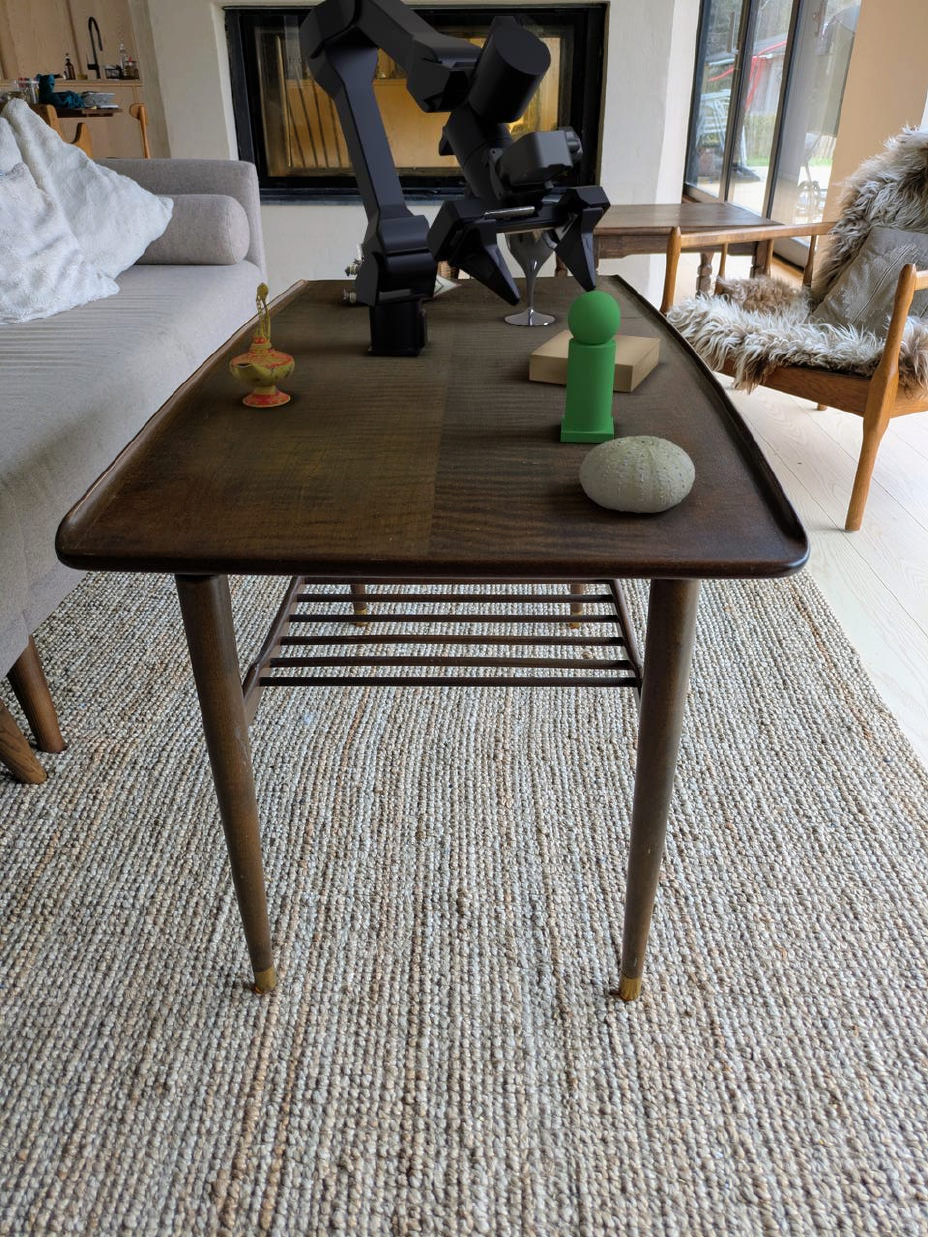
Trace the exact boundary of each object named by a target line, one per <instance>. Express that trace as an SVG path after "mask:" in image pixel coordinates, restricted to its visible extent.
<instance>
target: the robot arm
mask: <svg viewBox="0 0 928 1237" xmlns="http://www.w3.org/2000/svg"><path fill="white" fill-rule="evenodd" d="M299 46H300V50H301V53H302V55H303V56H304V58H305V61H306V63H307V65H308V68H309V71H310V73H311V76H312V79H313V80H314V82H315V83H316V84H317V85H318V86H319V87H320V88H321V89H322V90H323V91H324V92H325V93H326V94H327V96H329V97H330V98H331V100H332V101H333V103H334V107H335V110H336V113H337V117H338V120H339V125H340V127H341V131H342V135H343V138H344V142H345V146H346V149H347V152H348V155H349V156H348V157H349V159H350V163H351V166H352V169H353V173H354V176H355V180H356V184H357V187H358V191H359V194H360V198H361V202H362V205H363V209H364V212H365V216H366V220H367V225H366V229H365V233H364V238H363V241H362V245H361V249H362V250H361V251H362V254H363V260H364V261H363V260H362V261H363V263H362V265H361V267H360V270H359V272H358V274H357V275H355V276H356V277H355V279H354V281H353V282H354V285H353V288H354V287H355V288H354V291H355V292H354V293H356V296H357V300H359V301H361V302H360V303H364V304H366V305H368V316H369V317H368V318H369V331H370V332H369V334H370V346H369V348H368V350H367V353H368V355H379V356H380V355H381V356H382V355H385V356H387V355H388V356H419V355H420V354H421V352H422V351H423V349H424V348H425V347H426V345H427V343H428V341H429V340H428V310H426V309H425V308H423V301H422V299H423V298H431V299H433V296H434V290H435V284H436V278H437V273H438V272H439V265H440V263H443V262H444V263H445V262H446V264H447V265H448V267H449V268H457V269H459V270H460V271H461V272H463V273H465V274H467V275H468V276H470V277H471V278H473V279H474V280H476V281H477V282H479V283H480V284H482V285H483V286H484V287H486V288H488V289H489V290H490V291H491V292H493V293H494V294H495V295H497V296H498V297H500V298H501V299H502V300H504V301H505V302H506V303H507V304H509V305H510V306H512V307H515V306H517V305H519V303H520V301H521V296H520V293H519V290H518V287H517V284H516V282H515V280H514V277H513V275H512V273H511V271H510V269H509V267H508V264H507V262H506V260H505V258H504V255H503V254H502V251H501V249H500V248H499V244H498V235H499V234H503V235H504V234H505V235H507V234H515V233H524V232H532V231H540V230H547V234H548V236H549V238H550V240H551V241H552V242H554V243H555V244H557V246H556V247H555V249H554V252H555V254H556V256H557V257H558V258H559V260H560V261H561V263H563V264H564V266H565V267H566V269H567V271H569V272H570V274H571V275H572V277H573V278H574V279H575V281H576V282H577V283H578V285H579V286H580V287H581V288H582V289H583V290H584V291H585V293H587V292H590V291H596V288H597V280H596V268H595V257H594V256H595V255H594V230H595V228H596V227H597V226H598V224H599V223H600V221H601V220H602V219H603V218H604V216H605V214H606V213H607V212H608V211H609V209H610V208H611V207H612V204H611V202H610V199H609V198H608V195H607V193H606V191H605V189H604V188H603V186H601V185H583V186H572V187H566V189H565V190H564V192H563V193H562V195H561V196H560V198H559V200H558V201H557V202H558V203H557V204H556V205H555V206H546V207H543V201H544V200H543V199H544V198H545V197H549V196H550V194H551V193H552V192H553V190H554V188H555V187H554V185H553V183H552V180H554V179H555V178H557V177H559V176H560V175H562V174H563V173H564V172H569V171H572V170H573V168H574V165H575V164H577V163H578V162H580V161H581V160H582V158H583V155H584V154H583V153H584V152H583V147H582V143H581V139H580V137H579V135H578V134H577V132H576V131H575V130H574V128H573V127H572V126H558V127H556V128H555V130H541V131H539V130H537V131H531V132H528V133H525V134H523V135H522V136H520V137H519V138H518V139H517V140H514V138H513V136H512V134H511V132H510V130H509V128H508V126H507V124H513V123H517V122H518V121H520V120H521V119H522V118H523V116H524V115H525V113H526V111H527V109H528V107H529V106H530V103H531V102H532V100H533V99H534V96H535V94H536V93H537V91H538V90H539V88H540V86H541V83H542V82H543V80H544V78H545V76H546V74H547V72H548V70H549V69H550V67H551V64H552V56H551V52H550V49H549V47H548V45H547V44H546V42H545V41H541V39H540V38H539V37H538V36H537V35H536V34H535V33H533V31H531V30H529V29H527V28H526V27H523V26H521V25H518V22H517V21H516V18H515V16H514V15H513V16H512V15H507V16H506V15H494V17H493V20H492V21H491V24H490V26H489V29H488V32H487V36H486V38H485V41H484V43H483V45H482V47H481V46H479V45H477V44H475V43H473V42H470V41H468V40H465V39H463V38H458V37H455V36H450V35H445V34H442V33H441V32H439V31H437V30H435V29H434V27H432V26H431V25H430V24H429V23H428V22H426V21H425V20H424V19H423V18H422V17H421V16H419V15H418V14H417V13H416V12H415V11H414V10H413V9H411V7H409V6H408V5H407V4H406V3H404V2H403V0H324V1H322V2H319V3H318V4H316V5H315V6H313V7H312V9H311V10H310V12H308V14H307V16H306V18H304V20H303V22H302V23H301V26H300V28H299ZM379 50H382V52H384V54H386V56H388V57H389V58H390V59H391V61H393V62H394V63H395V64H396V65H397V66H398V67H399V68H401V69H402V70H403V72H404V74H405V75H406V80H405V88H406V90H407V91H408V93H409V95H410V96H411V97H412V99H413V100H414V102H415V103H416V105H417V106H418V108H419V109H420V110H421V111H422V112H424V113H426V114H439V113H443V114H444V113H450V114H449V117H448V119H447V121H446V123H445V125H443V126H442V128H441V136H440V137H441V138H440V140H439V142H438V148H437V150H438V156H440V157H448V156H455V159H456V161H457V163H458V165H459V167H460V170H461V171H462V174H463V175H464V179H465V180H466V182H467V183H466V184H465V186H464V188H463V190H462V194H463V195H464V197H456V198H446V199H444V200H443V202H442V204H441V206H440V208H439V210H438V211H437V214H436V216H435V218H434V220H433V222H432V224H431V226H430V222H429V220H428V219H427V217H426V215H425V214H417V215H416V214H414V213H413V212H412V211H411V210H410V209H409V207H408V206H407V203H406V200H405V195H404V193H403V189H402V185H401V182H400V177H399V174H398V171H397V168H396V164H395V161H394V157H393V153H392V149H391V146H390V143H389V139H388V136H387V132H386V129H385V125H384V121H383V117H382V114H381V110H380V107H379V104H378V100H377V95H376V93H375V88H374V80H375V76H376V72H377V68H378V65H379V61H380V57H379ZM505 235H504V236H505Z"/></svg>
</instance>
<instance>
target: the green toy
mask: <svg viewBox="0 0 928 1237" xmlns="http://www.w3.org/2000/svg"><path fill="white" fill-rule="evenodd" d="M620 324H621V310H620V307H619V305H618V303H617V301H616V300H615V299H614V298H613V296H611V295H610V294H608V293H606V292H603V291H601V290H594V291H590V292H585V293H581V295H579V296H578V297H577V298H576V299H575V300H574V301H573V302H572V304H571V305H570V308H569V310H568V313H567V326H568V330H570V332H571V334H572V335H573V338H571V339H570V340H569V347H568V367H567V385H566V390H565V406H564V407H565V409H564V410H565V411H564V414H561V426H560V428H561V429H560V442H561V443H585V444H586V443H587V444H588V443H589V444H590V443H591V444H595V443H596V444H602V443H605V442H608V441H609V440H610V441H611V440H613V439H614V436H615V433H614V432H615V431H614V430H615V429H614V417H613V416H612V406H613V405H612V404H613V392H614V390H613V381H614V368H615V355H616V340H615V339H613V338H612V337H613V336H614V335H617V332H618V330H619V329H620V328H619V327H620Z"/></svg>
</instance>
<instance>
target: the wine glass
mask: <svg viewBox="0 0 928 1237" xmlns="http://www.w3.org/2000/svg"><path fill="white" fill-rule="evenodd" d="M542 201H543V207H546V206H555V205H556V204H557V203H558V201H553V200H542ZM503 235H504V239H505V243H506V247H507V250H508V252H509V254H510V255H511V256H512V257H513V259H514V260H515V261H516V263H517V264H518V265H519V267H520V268H521V269H522V272H523V274H524V277H525V280H526V281H525V282H526V292H527V303H526V304H527V305H526V310H525V311H523V312H519V313H514V314H510V315H506V316H505V317H504V321H505V322H506V323H508V324H512V325H516V326H530V327H531V326H532V327H533V326H544V325H548V324H552V323H554V322H555V320H556V319H555V317H553V315H549V314H545V313H539V312H538V311H536V310H534V291H535V284H536V280H537V276H538V274H539V272H540V270H541V269H542V267H543V266H544V264H546V262H547V261H548V260H549V258H550V257H551V256H552V255H553V254H554V252H555V251H554V249H555V247H556V246H557V244H555V243H554V242H552V241H551V240H550V238H549V236H548V234H547V230H540V231H532V232H524V233H515V234H507V235H505V234H504V233H503Z"/></svg>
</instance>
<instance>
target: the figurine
mask: <svg viewBox="0 0 928 1237" xmlns="http://www.w3.org/2000/svg"><path fill="white" fill-rule="evenodd" d="M353 260H354V261H352V263H353V264H351V265H348V266H346V268H345V269H344V270H343V271H344V273H345V274H346V277H348V278H349V277H350V276H357V274H358V272H359V270H360V267H361V265H362V263H363V261H364V259H362V260H359V259H358V258H353ZM351 284H352V286H353V288H354V289H355V287H354V281H351ZM459 287H462V283H457V282H455V281H453V280H451V279H449V278H447V277H445V276H444V275H442V274H440V273H438V272H437V278H436V284H435V290H434V296H433V298H436V297H438V296H441V295H443V294H445V293H448V292H450V291H452V290H455V289H457V288H459ZM433 298H423V299H422V302H423V301H428V300H431V299H433ZM343 300H346V301H349V302H350V303H352V304H354V303H356V302H359V303H362V302H361V301H359V300H357V296H356V292H354V291H352V292H350V293H348V292H347V291H346V288H344V289H343Z"/></svg>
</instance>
